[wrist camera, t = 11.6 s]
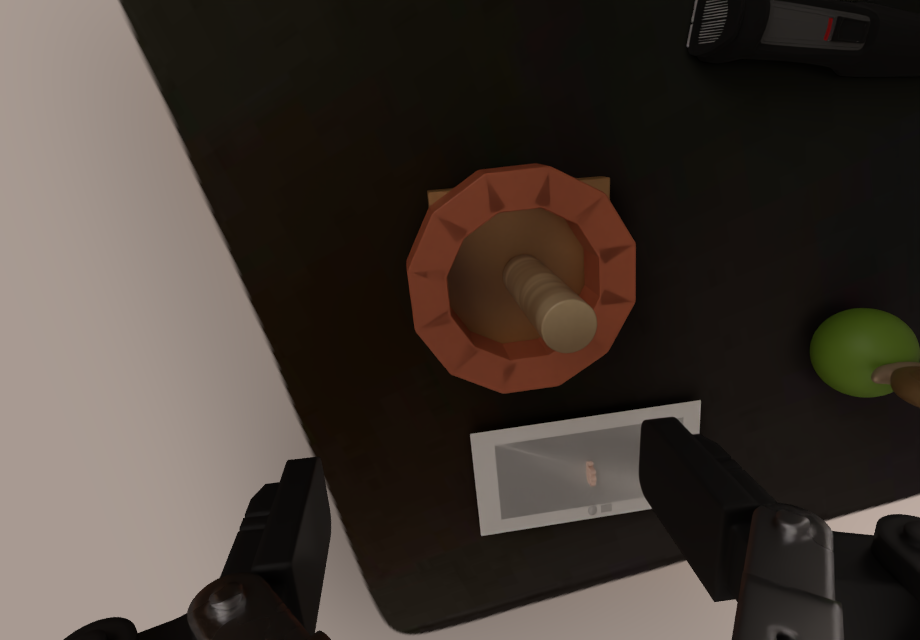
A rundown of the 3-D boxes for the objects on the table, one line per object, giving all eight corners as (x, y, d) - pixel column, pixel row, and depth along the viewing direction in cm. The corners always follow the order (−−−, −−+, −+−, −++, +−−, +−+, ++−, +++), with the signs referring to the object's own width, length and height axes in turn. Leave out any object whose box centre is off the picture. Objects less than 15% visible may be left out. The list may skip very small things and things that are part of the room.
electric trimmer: (931, 93, 32) (987, 89, 29) (682, 62, 30) (715, 54, 27) (955, 21, 31) (1016, 9, 28) (698, -17, 29) (734, -35, 26)
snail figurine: (871, 372, 38) (1075, 475, 26) (783, 376, 37) (953, 484, 26) (891, 295, 36) (1119, 370, 24) (799, 298, 35) (989, 376, 24)
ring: (394, 179, 29) (394, 183, 27) (617, 154, 30) (636, 156, 27) (423, 385, 33) (425, 405, 30) (618, 357, 34) (635, 375, 31)
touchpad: (467, 425, 35) (472, 443, 33) (692, 392, 37) (709, 408, 34) (479, 525, 38) (483, 547, 36) (688, 491, 39) (704, 511, 37)
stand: (426, 190, 31) (440, 216, 21) (602, 175, 31) (693, 194, 22) (441, 356, 34) (458, 445, 24) (600, 340, 35) (678, 420, 25)
